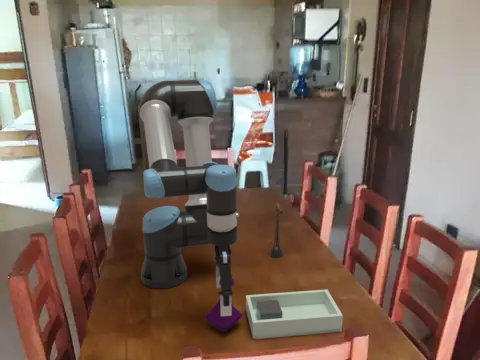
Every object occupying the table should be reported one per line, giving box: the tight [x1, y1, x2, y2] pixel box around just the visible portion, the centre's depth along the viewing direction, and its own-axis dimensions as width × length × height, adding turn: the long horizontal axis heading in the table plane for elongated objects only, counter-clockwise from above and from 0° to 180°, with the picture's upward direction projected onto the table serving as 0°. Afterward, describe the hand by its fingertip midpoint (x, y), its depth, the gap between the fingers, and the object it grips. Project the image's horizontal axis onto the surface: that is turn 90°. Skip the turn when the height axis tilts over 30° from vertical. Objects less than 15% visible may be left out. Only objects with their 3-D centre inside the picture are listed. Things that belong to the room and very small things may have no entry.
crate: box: [245, 288, 344, 340], centre depth 121 cm, size 24×13×5 cm, turn 97°
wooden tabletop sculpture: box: [269, 202, 284, 259], centre depth 156 cm, size 6×5×20 cm
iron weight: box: [256, 300, 282, 320], centre depth 120 cm, size 6×6×4 cm
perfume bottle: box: [204, 267, 244, 334], centre depth 117 cm, size 8×8×18 cm
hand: (223, 300), depth 117 cm, fingers open, 13 cm apart
